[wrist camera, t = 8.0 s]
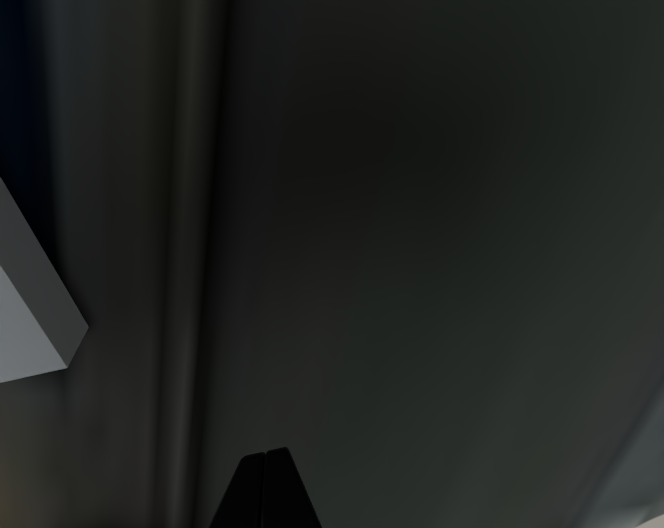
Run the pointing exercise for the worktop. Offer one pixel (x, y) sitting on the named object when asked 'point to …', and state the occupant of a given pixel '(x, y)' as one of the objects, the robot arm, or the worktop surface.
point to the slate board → (32, 302)
